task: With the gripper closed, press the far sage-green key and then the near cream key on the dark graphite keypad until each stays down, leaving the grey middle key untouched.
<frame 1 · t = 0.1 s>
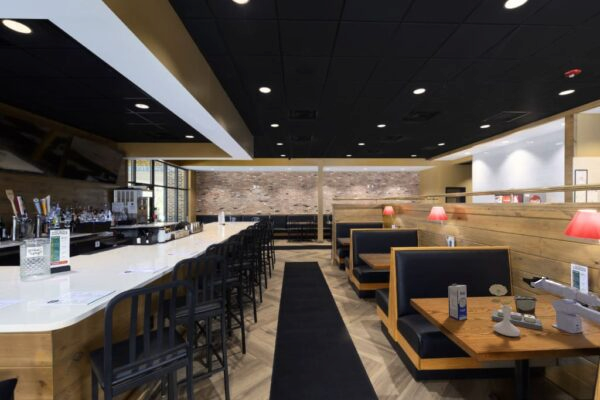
hand: (528, 278, 166), 22 cm above the table, tool horizontal, fingers open, 7 cm apart
milk carton: (457, 318, 163), on the table
sage key: (502, 313, 160), point 3 cm above the table, slide at 0.0 cm
grey key: (515, 315, 157), point 3 cm above the table, slide at 0.0 cm
keypad: (516, 321, 157), on the table
cream key: (529, 318, 153), point 3 cm above the table, slide at 0.0 cm
flower in vase: (504, 333, 143), on the table
food container: (522, 312, 170), on the table
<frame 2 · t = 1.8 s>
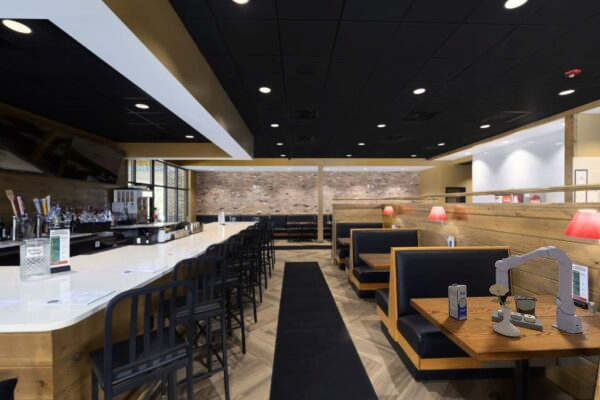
hand: (502, 304, 161), 8 cm above the table, tool pointing down, fingers open, 5 cm apart
nothing on the table moved.
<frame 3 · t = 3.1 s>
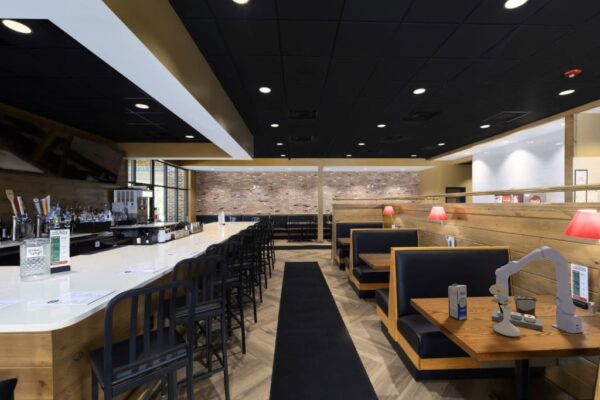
hand: (502, 312, 160), 4 cm above the table, tool pointing down, fingers closed, pressing on sage key
sage key: (502, 314, 160), point 2 cm above the table, slide at 0.8 cm, touching gripper
everything else where it was.
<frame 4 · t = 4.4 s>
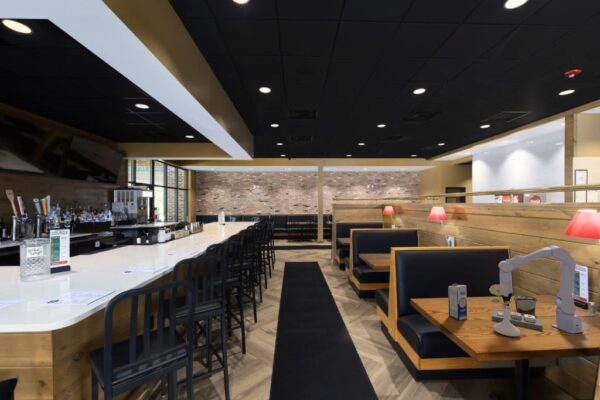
hand: (506, 305, 159), 8 cm above the table, tool pointing down, fingers closed
sage key: (503, 315, 160), point 2 cm above the table, slide at 1.6 cm
everything else where it was.
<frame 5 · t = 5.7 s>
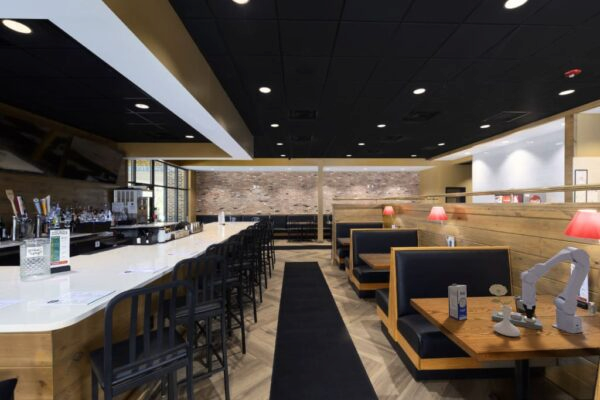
hand: (529, 318, 153), 3 cm above the table, tool pointing down, fingers closed, pressing on cream key
cream key: (529, 320, 153), point 2 cm above the table, slide at 1.0 cm, touching gripper
everything else where it was.
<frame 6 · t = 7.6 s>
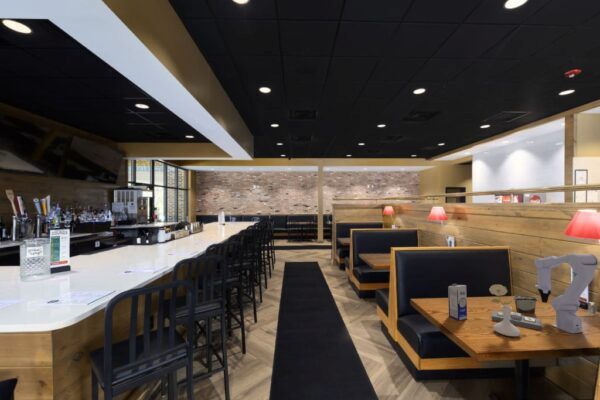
hand: (544, 302, 161), 9 cm above the table, tool pointing down, fingers closed
cream key: (529, 321, 153), point 2 cm above the table, slide at 1.5 cm
everything else where it was.
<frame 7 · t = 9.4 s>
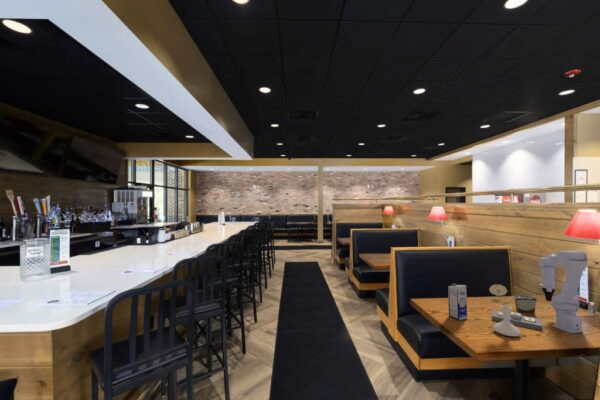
hand: (548, 300, 163), 9 cm above the table, tool pointing down, fingers closed
nothing on the table moved.
at the end: sage key slide at 1.6 cm; cream key slide at 1.5 cm; grey key slide at 0.0 cm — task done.
